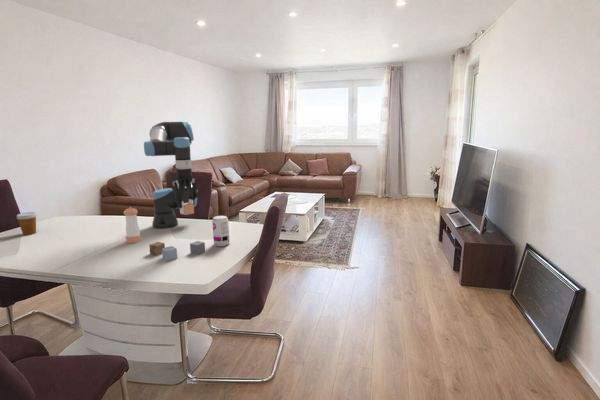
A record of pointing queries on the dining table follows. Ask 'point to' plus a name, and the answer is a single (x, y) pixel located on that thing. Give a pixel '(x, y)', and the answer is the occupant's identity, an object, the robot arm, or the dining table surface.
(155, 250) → the walnut cube
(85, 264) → the dining table surface
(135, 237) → the pepper shaker
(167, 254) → the slate blue cube
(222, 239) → the supplement can
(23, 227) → the disposable coffee cup
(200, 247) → the charcoal cube
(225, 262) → the dining table surface
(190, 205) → the terracotta cube
